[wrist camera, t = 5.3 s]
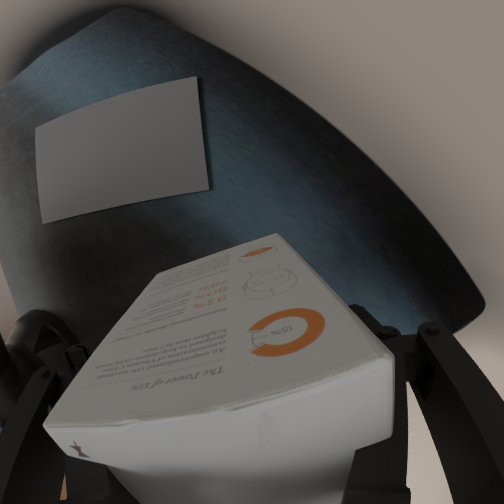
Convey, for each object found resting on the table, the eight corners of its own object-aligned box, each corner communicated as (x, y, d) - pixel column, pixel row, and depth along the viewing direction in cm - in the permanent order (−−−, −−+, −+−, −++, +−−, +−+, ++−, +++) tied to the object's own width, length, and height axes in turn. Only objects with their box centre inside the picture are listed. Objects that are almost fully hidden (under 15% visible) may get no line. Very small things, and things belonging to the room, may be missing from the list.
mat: (45, 223, 30) (42, 224, 30) (37, 128, 27) (35, 128, 27) (209, 189, 31) (209, 189, 30) (197, 78, 28) (196, 76, 27)
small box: (193, 355, 18) (159, 530, 5) (155, 272, 17) (32, 422, 4) (307, 320, 18) (391, 489, 5) (280, 229, 17) (399, 347, 4)
